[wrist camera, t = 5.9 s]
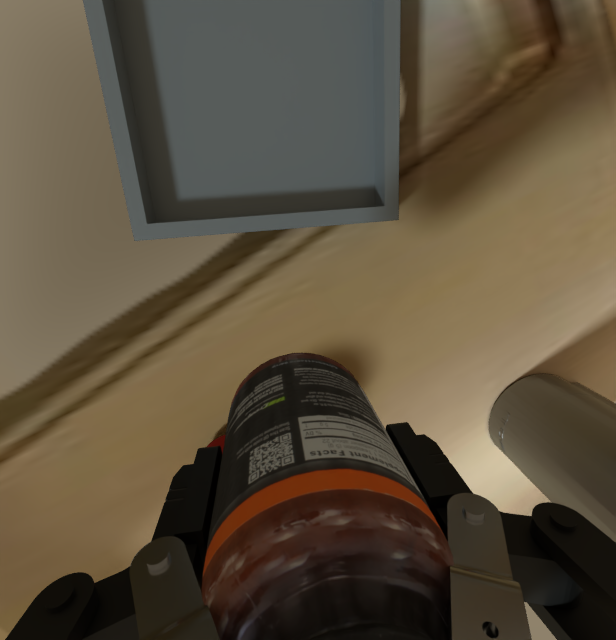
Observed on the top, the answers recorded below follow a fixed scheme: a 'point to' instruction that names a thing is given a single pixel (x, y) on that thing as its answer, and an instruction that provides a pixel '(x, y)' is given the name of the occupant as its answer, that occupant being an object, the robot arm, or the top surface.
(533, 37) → the top surface
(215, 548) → the supplement bottle
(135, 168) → the tray
